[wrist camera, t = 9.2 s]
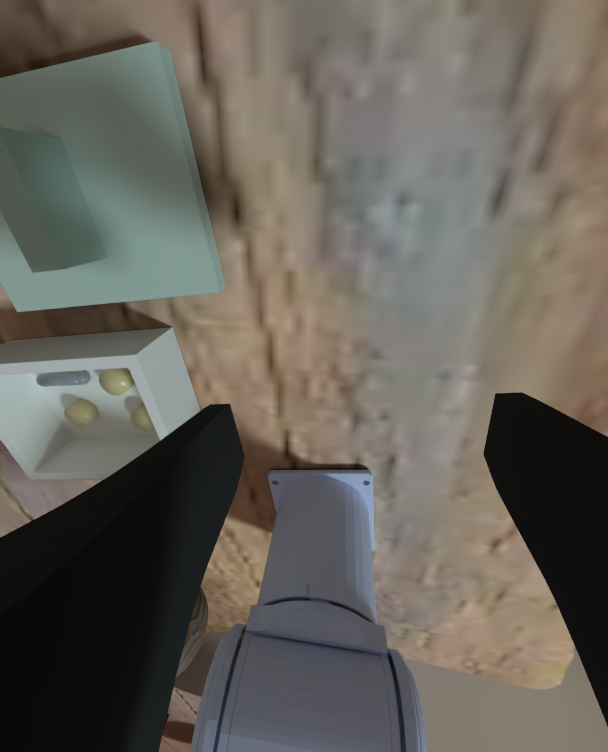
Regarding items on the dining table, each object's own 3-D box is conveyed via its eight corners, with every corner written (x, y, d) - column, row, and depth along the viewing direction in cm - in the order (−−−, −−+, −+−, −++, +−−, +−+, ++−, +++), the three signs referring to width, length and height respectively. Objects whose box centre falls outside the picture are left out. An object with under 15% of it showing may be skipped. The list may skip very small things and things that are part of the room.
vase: (204, 612, 38) (169, 715, 30) (150, 591, 37) (100, 693, 29) (225, 589, 35) (192, 698, 27) (167, 565, 34) (115, 671, 26)
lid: (229, 285, 18) (196, 310, 14) (40, 304, 20) (-36, 330, 16) (176, 56, 13) (105, -3, 9) (-63, 111, 15) (-205, 80, 11)
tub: (210, 439, 24) (187, 479, 20) (72, 442, 26) (30, 479, 22) (172, 327, 20) (135, 354, 16) (10, 340, 22) (-54, 367, 18)
